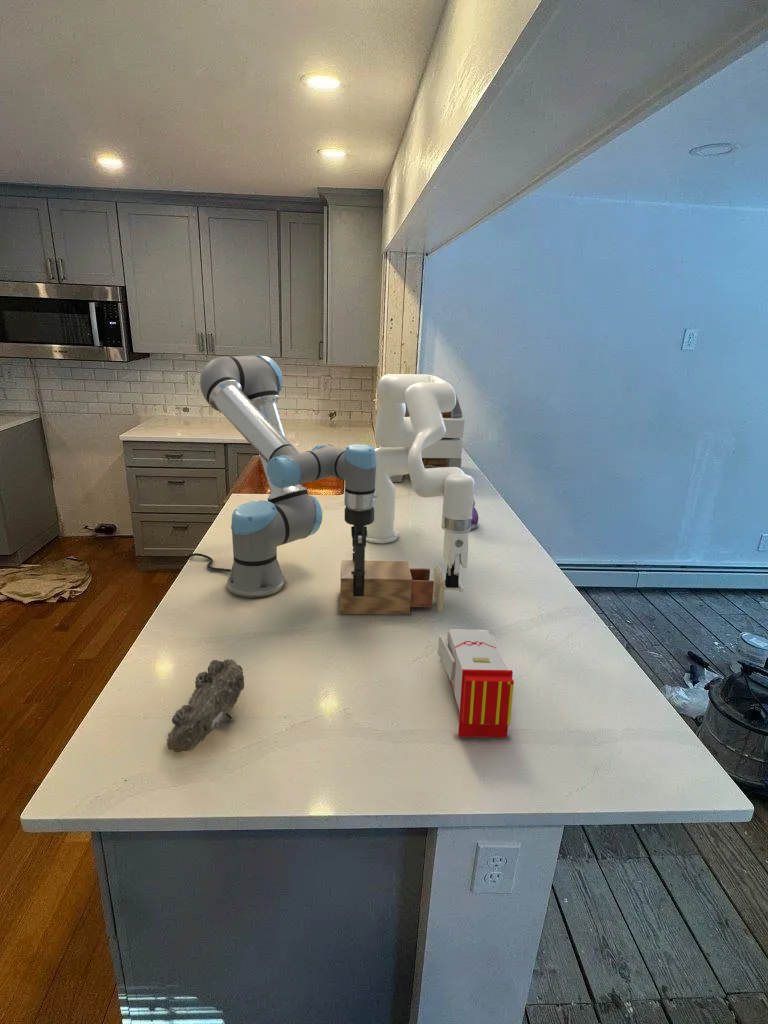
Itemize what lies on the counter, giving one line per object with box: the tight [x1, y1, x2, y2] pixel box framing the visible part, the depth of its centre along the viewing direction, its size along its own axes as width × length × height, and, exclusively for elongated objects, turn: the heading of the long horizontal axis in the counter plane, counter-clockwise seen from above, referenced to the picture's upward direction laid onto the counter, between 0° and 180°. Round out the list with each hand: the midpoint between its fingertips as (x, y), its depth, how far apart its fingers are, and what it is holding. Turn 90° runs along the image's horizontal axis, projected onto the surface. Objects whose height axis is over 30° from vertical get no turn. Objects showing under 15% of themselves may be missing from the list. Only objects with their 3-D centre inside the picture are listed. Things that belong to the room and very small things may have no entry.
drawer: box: [409, 565, 464, 611], centre depth 151 cm, size 22×10×8 cm, turn 94°
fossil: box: [166, 658, 245, 754], centre depth 106 cm, size 22×10×15 cm
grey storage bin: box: [389, 392, 465, 483], centre depth 268 cm, size 34×33×41 cm
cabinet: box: [339, 559, 412, 616], centre depth 150 cm, size 18×11×10 cm, turn 94°
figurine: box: [471, 497, 480, 530], centre depth 207 cm, size 9×10×15 cm
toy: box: [437, 628, 515, 738], centre depth 117 cm, size 12×13×30 cm
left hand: (357, 585), depth 150 cm, fingers closed on cabinet, 11 cm apart
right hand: (451, 587), depth 151 cm, fingers closed
